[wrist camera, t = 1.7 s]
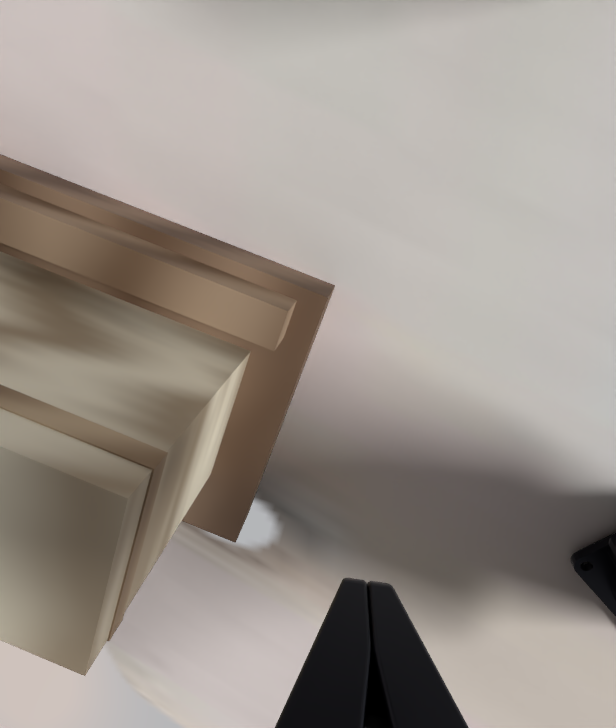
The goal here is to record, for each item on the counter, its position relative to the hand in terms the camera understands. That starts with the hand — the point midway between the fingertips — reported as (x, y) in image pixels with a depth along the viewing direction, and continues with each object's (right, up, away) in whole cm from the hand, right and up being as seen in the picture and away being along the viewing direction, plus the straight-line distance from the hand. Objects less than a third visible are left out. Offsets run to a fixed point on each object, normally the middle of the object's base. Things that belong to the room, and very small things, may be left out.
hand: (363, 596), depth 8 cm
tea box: (-10, +4, +11) cm, 16 cm away
